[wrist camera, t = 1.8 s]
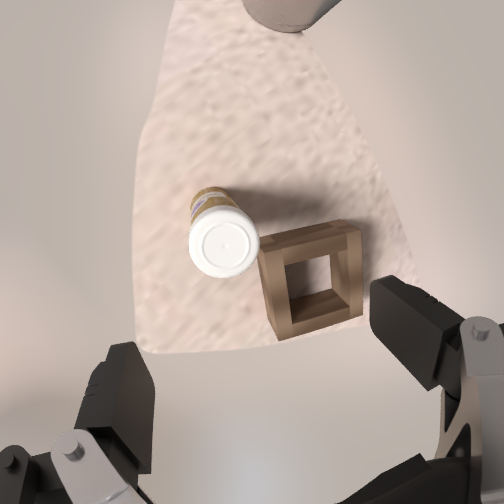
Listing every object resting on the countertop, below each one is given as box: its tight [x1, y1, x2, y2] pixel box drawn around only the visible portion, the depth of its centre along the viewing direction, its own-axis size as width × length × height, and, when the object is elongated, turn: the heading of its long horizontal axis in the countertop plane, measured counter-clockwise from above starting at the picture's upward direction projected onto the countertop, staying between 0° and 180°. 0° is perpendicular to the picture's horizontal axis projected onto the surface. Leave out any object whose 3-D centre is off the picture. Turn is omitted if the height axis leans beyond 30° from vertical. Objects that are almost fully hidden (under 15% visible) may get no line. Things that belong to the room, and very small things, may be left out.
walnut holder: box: [257, 219, 363, 341], centre depth 33 cm, size 10×10×5 cm
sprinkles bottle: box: [189, 187, 260, 278], centre depth 25 cm, size 5×5×13 cm
